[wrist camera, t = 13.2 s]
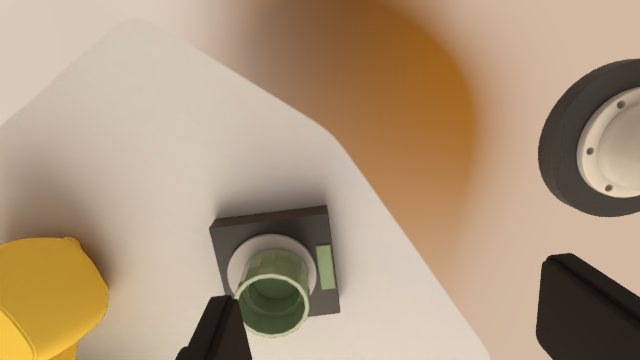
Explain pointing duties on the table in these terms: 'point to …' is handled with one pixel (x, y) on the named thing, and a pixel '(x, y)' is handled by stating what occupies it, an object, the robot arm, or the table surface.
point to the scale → (280, 233)
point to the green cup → (274, 293)
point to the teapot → (47, 298)
